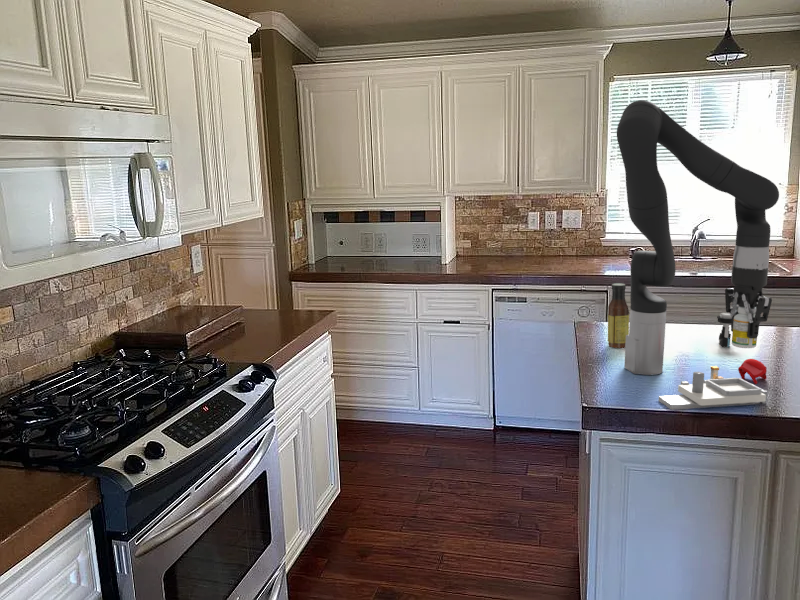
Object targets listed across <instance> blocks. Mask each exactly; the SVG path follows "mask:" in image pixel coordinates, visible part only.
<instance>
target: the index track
mask: <svg viewBox="0 0 800 600" xmlns="http://www.w3.org/2000/svg"><path fill="white" fill-rule="evenodd" d="M719 371H720V367H719V366H717V365H713V366H712V365H711V366H710V377H709V379H715V377H716V376H719ZM761 389H762V390H761V393H763V394H765V395H766V400H765V402H750V403H735V404H719V405H703V406H701V405H699V404H697V403H696V402H694V401H693V400H691V399H690V398H688V397H686V396H685V395H683V394H677V395H676V394H673V395H659V396H658V402H659V403H661V405H664V406H665V407H667V408H668V409H669V410H671V411H675V410H689V409H690V410H691V409H705V408H708V409H709V408H720V407H721V408H722V407H736V406H750V405H751V406H753V405H754V406H755V405H760V404H762V405H766V404H767V403H768V402H767V399H768V391H767V390H766V389H763V388H761Z"/></svg>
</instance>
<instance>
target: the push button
mask: <svg viewBox="0 0 800 600" xmlns="http://www.w3.org/2000/svg"><path fill="white" fill-rule="evenodd" d="M716 319H717V322H718V323H719V324H721V325H722V329H721V332H719V335H718V345H719V346H722V348H730V345H731V339H732V335H731V333H730V332H731V330H730V326H731V320H732V317H731V316H730V313H727V312H721V313H720V314H719V315H717V317H716Z"/></svg>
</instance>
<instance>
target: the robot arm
mask: <svg viewBox="0 0 800 600" xmlns="http://www.w3.org/2000/svg"><path fill="white" fill-rule="evenodd" d="M616 140H617V144H618V147H619V150H620V155H621V158H622V163H623V167H624V172H625V189H626V200H627V207H628V214H629V219H630V221H631V223H633V225H634V226H635V227H636V229H638V231H639V232H640V233H641V234H642V235H643V236H644V237H645V238H646V239H647V240H648V241H649V242H650V243H651V245H652V247H653V249H654V250H637V251H635V252H634V253H633V255H632V256H631V261H630V296H629V297H630V298H629V299H630V306H629V307H630V308H629V309H630V311H629V335H626V344H625V348H624V364H623V365H624V367H623V368H624V369H626V370H628V371H629V372H630V373H632V374H634V375H644V376H646V375H647V376H648V375H649V376H651V375H652V376H653V375H660V374H661V373H663V372H664V371H663V370H664V354H665V339H666V324H667V323H666V320H667V308H668V307H667V306H668V305H667V304H668V303H667V300H666V299H664V298H663V297H660V296H659V295H657V294H654V293H653V292H652V291H650V290H649V289H648V287H647V286H652V287H654V286H655V287H668V286H670V285H672V284H673V283H674V280H675V277H676V259H675V255H674V254H675V253H674V250H673V241H672V238H671V231H670V220H669V203H668V192H667V188H666V185H665V182H664V180H663V177H662V176H661V174H660V171H659V169H658V155H657V150H658V149H657V148H658V144H659V145H661V146H662V147H664V148H665V149H667V150H668V151H669V152H670V153H671V154H672V155H673V156H674V157H675V158H676V159H677V160H678V161H679V162H680V163H681V165H682V166H683V167H684V168H685V169H686V170H687V171H688V172H689V173H690V174H692V175H693V176H694V177H696V178H697V179H698V180H699V181H701V182H702V183H705V184H706V185H708V186H710V187H711V188H713V189H715V190H717V191H719V192H722V193H725V194H729V195H730V196H732V197H733V198H734V210H735V219H736V235H735V247H734V251H733V256H732V267H731V276H730V277H731V278H730V279H731V281H730V282H731V284H732V285H733V286H734V287H732V288H730V287H729V288H725V290H724V295H725V298H724V300H725V313H730V316H731V317H732V320H731V325H730V332H732V333H733V322H734V316H735V315H737V314H739V313H738V306H740V307H744V308H745V312H746V313H747V314H748V318H749V322H750V323H748V332H747V337H748V338H757V339H758V336H759V332H760V331H759V329H760V323H764V322H767V321H768V318H769V316H770V315H769V314H770V311H771V310H770V309H771V307H772V306H771V305H772V301H773V299H772V297H767V296H765V295H764V292H763V288H764V287H765V286H767V284H768V277H769V276H768V274H769V273H768V272H769V264H770V263H769V262H770V241H771V240H770V239H771V225H770V224H769V222H768V221H767V218H766V211H767V210H769V209H771V208H773V207H774V206H775V205H776V204H777V203H778V201H779V198H780V191H779V189H778V187H777V185H776V184H775V183H774V182H773V181H772V180H770V179H768V178H767V177H764V176H762V175H760V174H758V173H756V172H754V171H752V170H750V169H748V168H745V167H743V166H740V165H739V164H737V163H736V162H735V161H734V160H731V159H730V158H728V157H727V156H725V155H723V154H721V153H720V152H719V151H716V150H714V148H712V147H710V146H708V145H707V144H705V143H704V142H702V141H701V140H699V138H697V137H696V136H694V135H693V134H691V133H690V132H689V131H687V129H685V128H684V127H683V126H682V125H680V124H679V123H678V122H677V121H676V120H674V119H673V118H672V117H671V116H669V115H668V114H667V113H666V111H664V110H663V109H662V108H660V107H659V106H657V104H655V103H653V102H651V101H649V100H643V99H641V100H635V101H632V102H631V103H629V104H628V105H627V106H626V107H625V108H624V110H623V112H622V114H621V117H620V120H619V122H618V125H617V128H616ZM731 303H732V304H731ZM755 307H756V309H751V308H755ZM753 313H755V317H753Z"/></svg>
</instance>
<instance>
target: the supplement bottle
mask: <svg viewBox="0 0 800 600" xmlns="http://www.w3.org/2000/svg"><path fill="white" fill-rule="evenodd" d="M751 309H756V307H755V308H751ZM738 313H739V314H737V315H735V316H734V322H733V332H732V335H731V345H732V346H733V347H735V348H740V349H754V348H755V347H756V346H757V341H758V337H757V338H748V337H747V332H748V323H750V322H749V318H748V314H747V313H746V312H745V308H744V307H740V306H738ZM753 317H755V313H753Z"/></svg>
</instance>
